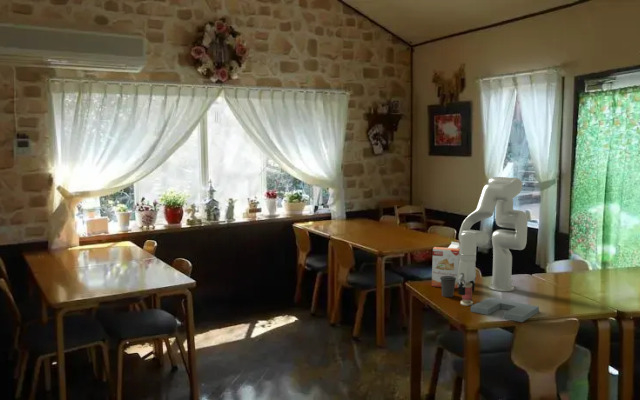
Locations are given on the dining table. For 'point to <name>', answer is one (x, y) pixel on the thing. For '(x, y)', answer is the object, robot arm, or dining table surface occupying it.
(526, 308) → the notched board
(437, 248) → the cracker box
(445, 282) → the coffee cup
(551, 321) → the dining table surface
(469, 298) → the bobbin
